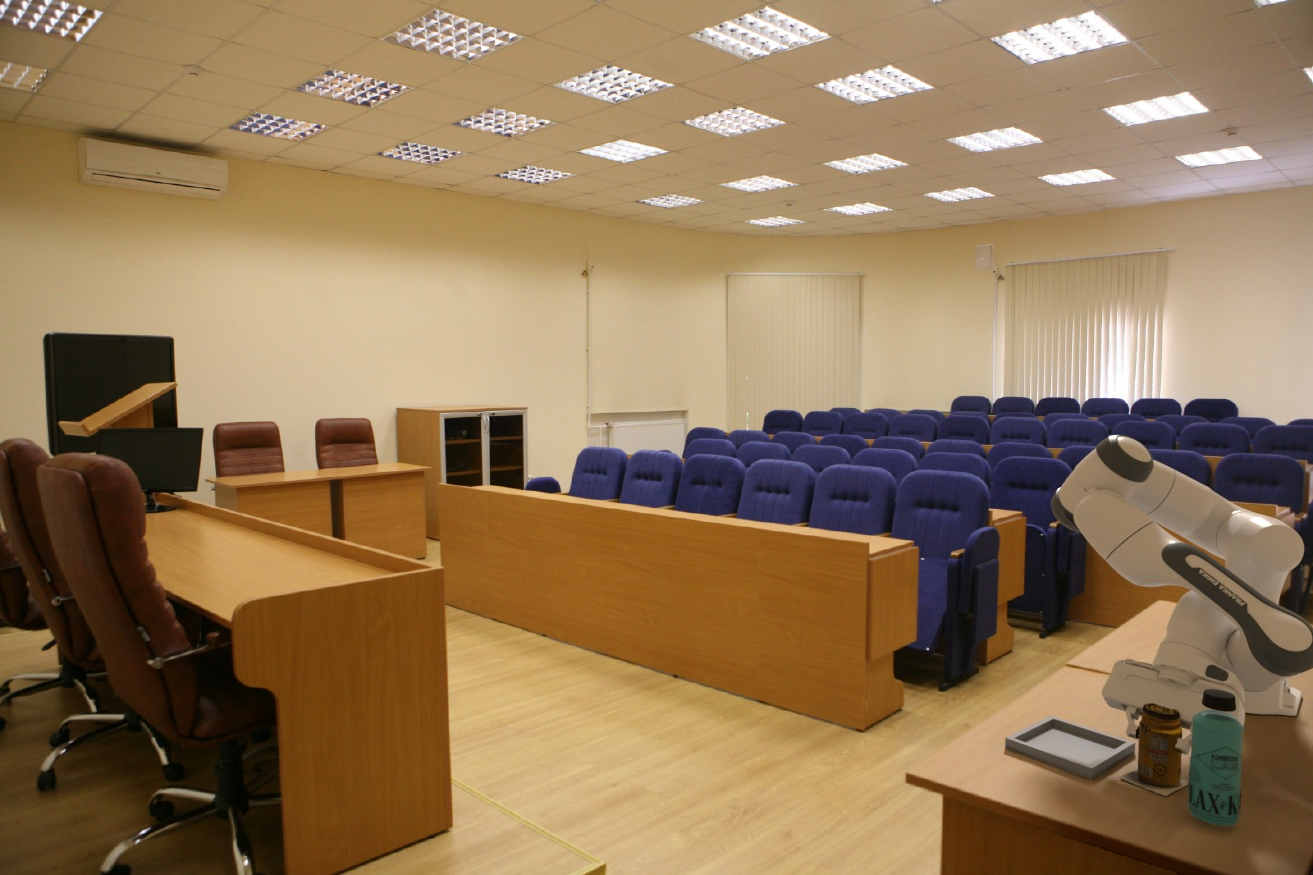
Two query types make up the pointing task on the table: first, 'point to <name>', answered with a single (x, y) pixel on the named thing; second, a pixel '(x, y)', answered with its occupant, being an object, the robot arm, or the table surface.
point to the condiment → (1158, 751)
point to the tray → (1070, 747)
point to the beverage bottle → (1216, 761)
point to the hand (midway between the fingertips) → (1155, 744)
